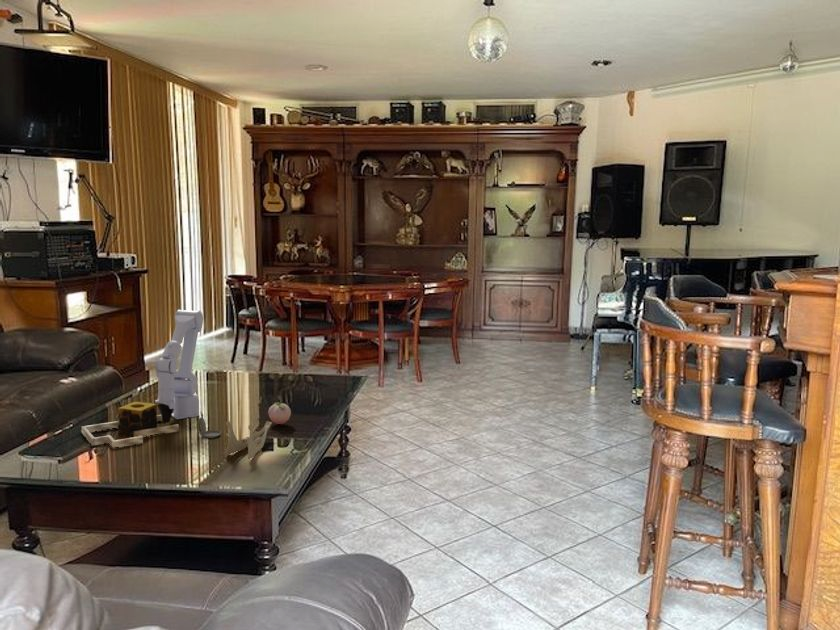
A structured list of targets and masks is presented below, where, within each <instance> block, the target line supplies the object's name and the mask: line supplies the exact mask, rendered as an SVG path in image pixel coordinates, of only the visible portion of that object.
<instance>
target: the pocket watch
mask: <svg viewBox="0 0 840 630" xmlns="http://www.w3.org/2000/svg"><path fill="white" fill-rule="evenodd" d="M199 414H200V416H201V417H199V418H198V420H197V429H198V430H197V431H198V432H199V435H200V436H201V437H203V438H206V439H207V438H208V439H213V438H214V439H215V438H218V437H220V435H221V431H220V430H219V431H218V430H206V429H207V425H206V420H205V419H204V414H203V412H202V411H199Z"/></svg>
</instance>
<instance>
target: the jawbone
mask: <svg viewBox="0 0 840 630" xmlns="http://www.w3.org/2000/svg"><path fill="white" fill-rule="evenodd" d="M225 425H226V426H227V428H228V433H226V434H225V435H226V436H227V441H228V442H227V447H226V450H225V453H224V454H225V457H226V456H227V455H229V454H231V453H234V452H236V451H239V450H242V449H244V448H246V447H247V448H246V449H247V459H248V460H249V459H250V458H252V457H253V456H254V457H255V456H256V455H257V454H258V453H259V452H260V451H261V450H262V449H263V447H264V445H265V442H266V437H267V433H268V431H269V429H270V428H271V426H272V425H273V421H270V420H266V421H265V424H264V426H263V427H262V428H261V429H260V430H259V431H257V430H256V431H254V428H253V426H252V424H249V425H248V430H250V436H245V437H244V438H240V439H238V438H237V436H236V435H235V432H234V429H233V427H232V424H231V422H230V420H227V421H226V422H225ZM259 437H260V438H259ZM261 448H262V449H261ZM260 449H261V450H260ZM244 450H245V449H244ZM259 450H260V451H259ZM258 451H259V452H258ZM257 452H258V453H257ZM256 453H257V454H256ZM234 454H235V453H234ZM255 454H256V455H255Z"/></svg>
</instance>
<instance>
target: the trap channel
mask: <svg viewBox="0 0 840 630" xmlns="http://www.w3.org/2000/svg"><path fill="white" fill-rule="evenodd" d="M158 421H161V422H163V420H162V416H161V414H157V423H159V422H158ZM118 423H119V420H115V421H110V422H103V423H96V424H90V425H83V426H82V425H81V434H82V435H83V436H84V438H85V437H86V438H85V439H86V440H87V441H88V443H89V444H90V443H91V444H90V445H91V446H99V445H104V443H106V444H108V443H109V444H110V445H111V446H112V447H113V448H112V447H111V446H110V445H109V444H108V445H109V446H110V447H111V448H112V449H115V448H114V447H119V448H124V446H125V447H129V446H135V444H136V445H142V444H144V438H146V436H147V437H151V436H150V435H153V434H159V433H165V434H170V433H177V432H179V430H180V426H179V424H178V423H177V424H172V425H165V426H157V428H151V429H145V430H139V431H134V435H133V437H127V438H126V437H125V438H120V439H114V438H113V436H111V434H109V435H103V436H97V437H95V436H94V435H93V434H92V433H95V431H97V432H102V430H103V431H108V430H107V429H110V430H113V429H112V428H116V429H118ZM159 435H160V434H159ZM153 436H154V435H153ZM141 443H142V444H141Z"/></svg>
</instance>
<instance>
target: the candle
mask: <svg viewBox="0 0 840 630" xmlns="http://www.w3.org/2000/svg"><path fill="white" fill-rule="evenodd" d="M157 405H158V403H152V402H141V401H133V402H130V403H128V404H126V405H123V406H121V407H118V409H117V410H118V421H119V423H118V428H117V429H118V430H117V433H118V434H120V433H121V435H127V436H134V431H139V430H145V429H151V428H158V422H157V415H158V412H157V410H158V406H157Z"/></svg>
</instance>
